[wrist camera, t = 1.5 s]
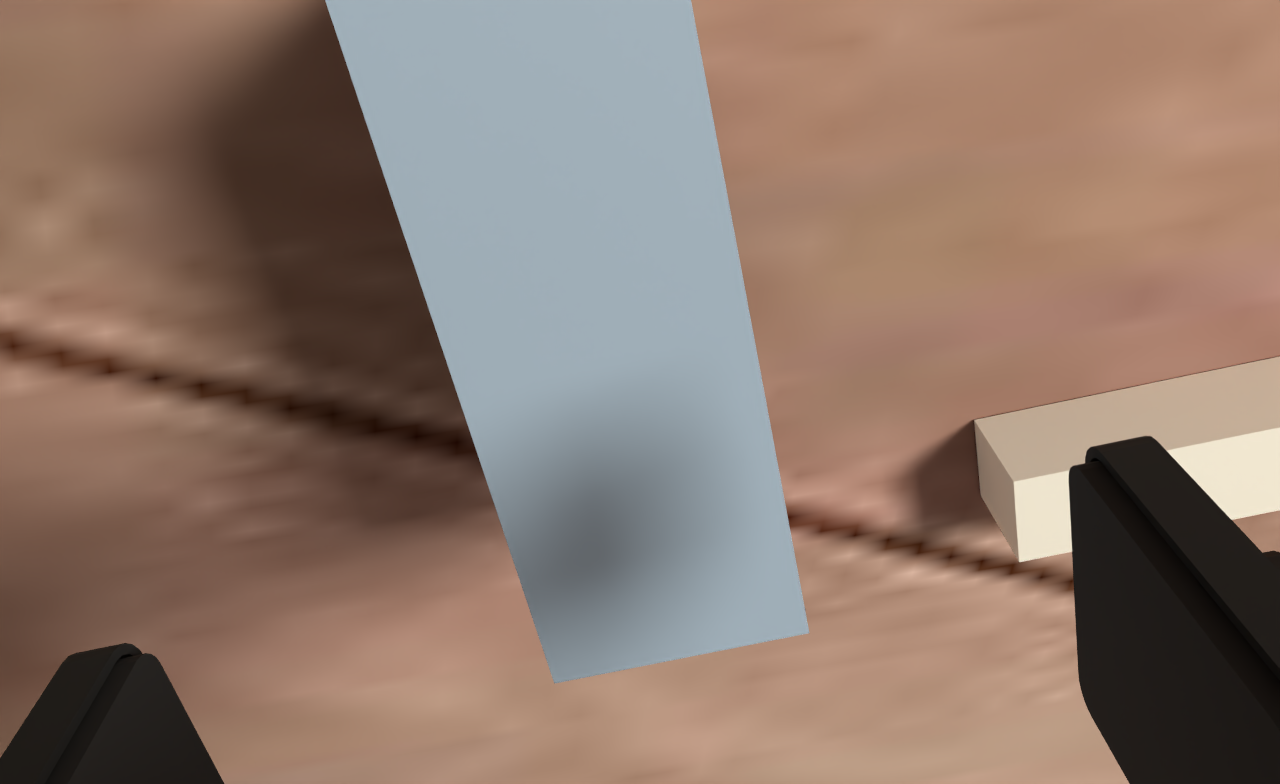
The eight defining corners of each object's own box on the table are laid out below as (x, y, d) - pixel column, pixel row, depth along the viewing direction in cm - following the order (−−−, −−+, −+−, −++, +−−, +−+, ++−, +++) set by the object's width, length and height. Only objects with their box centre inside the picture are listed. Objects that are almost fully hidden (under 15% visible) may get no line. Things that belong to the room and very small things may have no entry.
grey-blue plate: (420, -93, 23) (314, -33, 14) (636, -146, 22) (668, -118, 13) (564, 409, 28) (554, 683, 19) (738, 372, 28) (809, 632, 19)
